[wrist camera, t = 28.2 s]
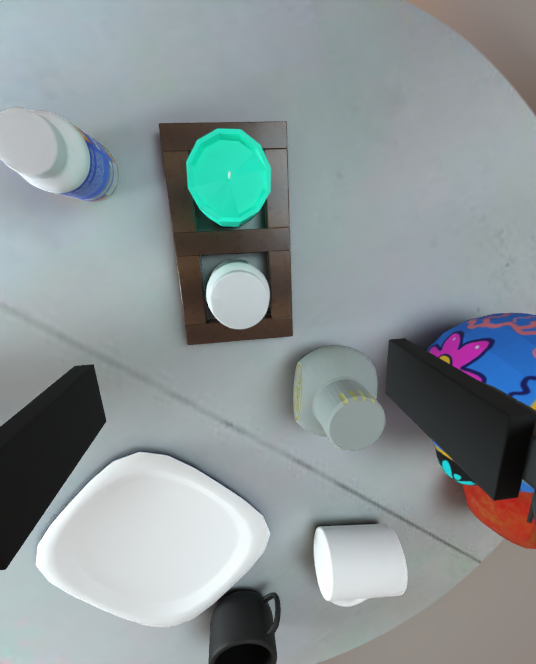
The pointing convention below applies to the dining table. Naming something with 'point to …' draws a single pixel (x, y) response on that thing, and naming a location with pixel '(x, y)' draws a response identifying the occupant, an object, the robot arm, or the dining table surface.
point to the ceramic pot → (492, 364)
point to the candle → (228, 176)
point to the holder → (229, 232)
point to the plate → (152, 541)
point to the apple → (504, 515)
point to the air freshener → (338, 397)
